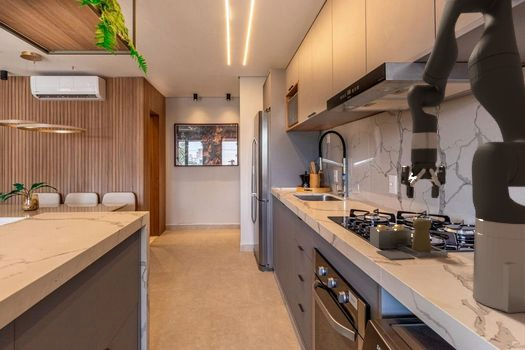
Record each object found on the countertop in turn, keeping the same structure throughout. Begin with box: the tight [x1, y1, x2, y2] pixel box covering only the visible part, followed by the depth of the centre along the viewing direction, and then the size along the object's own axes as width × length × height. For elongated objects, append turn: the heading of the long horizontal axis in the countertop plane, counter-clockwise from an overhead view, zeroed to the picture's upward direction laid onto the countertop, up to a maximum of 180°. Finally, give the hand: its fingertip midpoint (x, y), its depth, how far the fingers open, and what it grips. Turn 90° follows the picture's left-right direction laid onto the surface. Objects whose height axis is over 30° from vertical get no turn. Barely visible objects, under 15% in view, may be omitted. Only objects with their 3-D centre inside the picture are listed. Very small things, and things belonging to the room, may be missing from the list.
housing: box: [369, 226, 449, 259], centre depth 102 cm, size 17×17×6 cm
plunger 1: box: [376, 224, 388, 230], centre depth 107 cm, size 3×3×5 cm
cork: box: [411, 217, 432, 252], centre depth 99 cm, size 6×6×11 cm
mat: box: [376, 249, 416, 261], centre depth 96 cm, size 8×8×1 cm
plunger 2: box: [393, 224, 405, 230], centre depth 108 cm, size 3×3×5 cm
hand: (422, 198), depth 99 cm, fingers open, 8 cm apart
